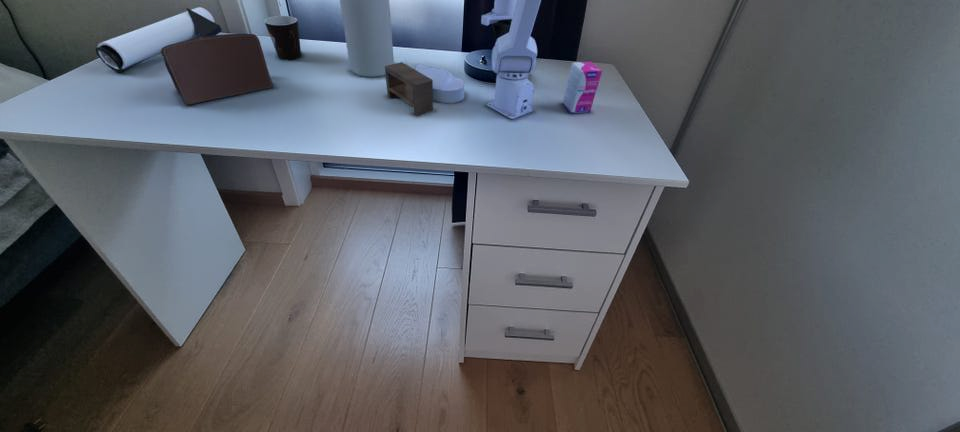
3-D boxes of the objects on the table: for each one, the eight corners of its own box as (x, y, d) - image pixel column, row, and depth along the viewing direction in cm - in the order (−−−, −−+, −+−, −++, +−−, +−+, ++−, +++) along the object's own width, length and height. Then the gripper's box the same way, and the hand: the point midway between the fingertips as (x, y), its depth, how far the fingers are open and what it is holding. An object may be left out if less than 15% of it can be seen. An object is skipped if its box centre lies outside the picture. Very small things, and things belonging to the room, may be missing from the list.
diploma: (123, 87, 104) (144, 61, 97) (87, 56, 99) (106, 26, 93) (213, 43, 130) (234, 21, 123) (187, 17, 125) (208, -8, 119)
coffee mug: (275, 51, 120) (265, 16, 113) (305, 50, 122) (297, 15, 116) (272, 66, 112) (261, 29, 105) (304, 64, 114) (296, 28, 107)
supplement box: (571, 114, 102) (581, 71, 95) (561, 104, 106) (571, 61, 99) (590, 113, 104) (603, 70, 96) (580, 102, 108) (591, 60, 100)
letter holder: (274, 88, 102) (257, 30, 93) (186, 106, 92) (157, 44, 82) (261, 74, 107) (244, 19, 98) (176, 90, 97) (148, 30, 88)
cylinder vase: (373, 81, 109) (361, -22, 92) (341, 69, 113) (323, -31, 97) (403, 68, 117) (397, -29, 100) (371, 57, 121) (360, -38, 105)
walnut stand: (433, 110, 99) (432, 79, 93) (416, 116, 96) (415, 84, 91) (403, 91, 105) (401, 61, 100) (387, 96, 103) (384, 66, 97)
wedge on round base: (410, 96, 104) (457, 105, 102) (409, 71, 99) (458, 80, 97) (423, 83, 110) (468, 91, 108) (423, 59, 106) (469, 67, 104)
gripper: (515, -13, 105) (509, 40, 114) (474, -8, 97) (471, 49, 106) (534, -7, 101) (527, 47, 110) (494, -1, 94) (489, 57, 103)
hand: (501, 48), depth 108 cm, fingers closed
